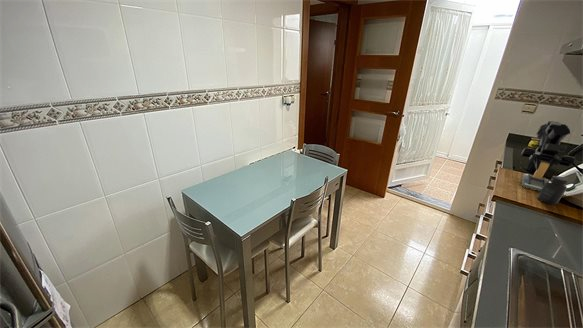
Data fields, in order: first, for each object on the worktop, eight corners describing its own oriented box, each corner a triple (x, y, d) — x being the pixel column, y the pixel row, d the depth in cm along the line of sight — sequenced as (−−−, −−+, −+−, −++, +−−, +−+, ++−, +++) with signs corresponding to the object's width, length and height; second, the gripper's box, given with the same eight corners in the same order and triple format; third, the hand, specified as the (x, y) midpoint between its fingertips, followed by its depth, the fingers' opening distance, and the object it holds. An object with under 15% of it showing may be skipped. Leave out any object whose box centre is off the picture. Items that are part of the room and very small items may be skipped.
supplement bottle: (561, 206, 105) (576, 183, 99) (543, 203, 106) (557, 181, 101) (549, 197, 111) (563, 175, 105) (532, 195, 112) (545, 173, 107)
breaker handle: (530, 176, 126) (539, 160, 122) (541, 179, 123) (551, 163, 119) (530, 178, 124) (539, 162, 119) (542, 181, 121) (551, 165, 117)
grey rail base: (522, 175, 130) (524, 171, 129) (547, 182, 124) (549, 178, 123) (521, 186, 119) (524, 182, 118) (549, 194, 113) (552, 189, 112)
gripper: (532, 132, 122) (522, 158, 120) (585, 142, 111) (575, 170, 108) (525, 143, 131) (515, 167, 128) (574, 152, 120) (564, 179, 117)
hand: (541, 170), depth 120 cm, fingers closed on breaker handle, 3 cm apart
